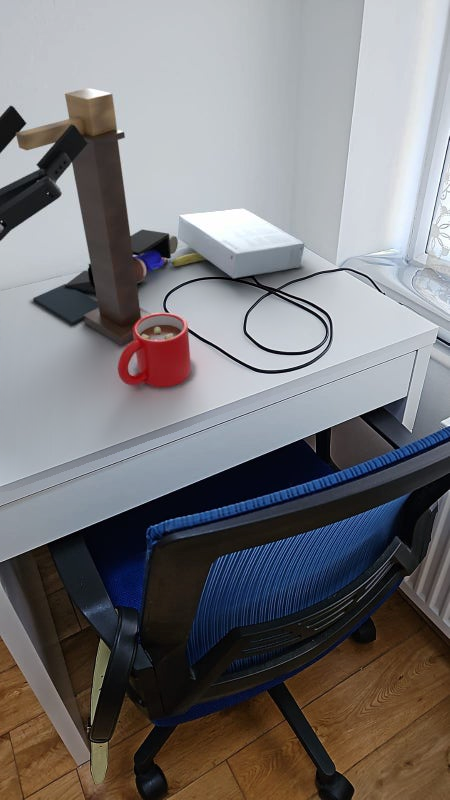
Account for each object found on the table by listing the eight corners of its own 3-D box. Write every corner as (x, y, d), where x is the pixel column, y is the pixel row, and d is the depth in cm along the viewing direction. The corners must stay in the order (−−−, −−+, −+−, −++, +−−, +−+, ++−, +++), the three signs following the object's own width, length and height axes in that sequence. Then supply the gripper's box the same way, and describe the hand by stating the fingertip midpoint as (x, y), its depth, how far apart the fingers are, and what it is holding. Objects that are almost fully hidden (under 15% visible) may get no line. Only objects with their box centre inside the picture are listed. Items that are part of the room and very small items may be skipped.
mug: (106, 385, 85) (98, 341, 80) (165, 349, 92) (161, 306, 87) (143, 408, 81) (136, 363, 76) (201, 368, 88) (199, 324, 83)
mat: (33, 301, 104) (32, 298, 104) (66, 286, 108) (65, 283, 108) (72, 325, 98) (72, 322, 98) (105, 308, 102) (105, 305, 101)
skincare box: (240, 233, 126) (176, 238, 118) (244, 208, 123) (178, 211, 115) (300, 270, 112) (232, 279, 104) (306, 243, 109) (236, 250, 101)
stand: (122, 345, 93) (89, 144, 73) (84, 323, 98) (44, 130, 78) (159, 325, 97) (137, 130, 77) (121, 304, 103) (92, 117, 83)
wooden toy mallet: (33, 153, 71) (25, 114, 68) (12, 145, 74) (2, 107, 71) (117, 129, 78) (112, 93, 75) (94, 123, 81) (89, 87, 78)
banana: (206, 247, 116) (215, 256, 113) (206, 255, 117) (215, 264, 114) (168, 256, 113) (176, 265, 110) (168, 264, 114) (176, 273, 111)
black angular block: (64, 287, 107) (60, 264, 104) (85, 271, 112) (82, 248, 109) (124, 299, 103) (121, 275, 100) (143, 282, 109) (141, 259, 106)
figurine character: (149, 260, 118) (110, 283, 107) (149, 223, 114) (108, 242, 103) (179, 266, 116) (142, 290, 105) (179, 228, 112) (141, 249, 101)
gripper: (-85, 241, 80) (14, 129, 83) (12, 304, 66) (125, 168, 70) (-132, 203, 73) (-24, 83, 77) (-37, 264, 60) (90, 116, 63)
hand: (47, 123), depth 73 cm, fingers open, 13 cm apart
